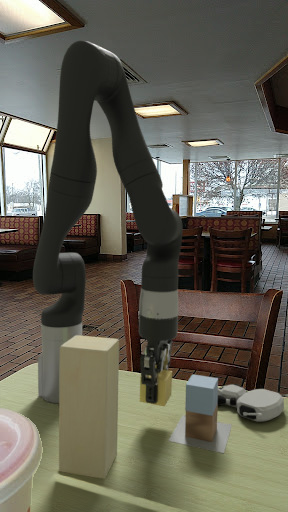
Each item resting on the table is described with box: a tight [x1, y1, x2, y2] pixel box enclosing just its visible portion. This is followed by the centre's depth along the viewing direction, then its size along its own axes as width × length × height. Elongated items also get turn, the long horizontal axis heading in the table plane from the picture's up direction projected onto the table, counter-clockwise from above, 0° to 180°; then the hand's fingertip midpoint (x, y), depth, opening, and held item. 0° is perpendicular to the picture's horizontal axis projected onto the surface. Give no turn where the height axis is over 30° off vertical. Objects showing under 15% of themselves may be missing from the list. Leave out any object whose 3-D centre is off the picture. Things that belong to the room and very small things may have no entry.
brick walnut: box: [185, 404, 219, 442], centre depth 71 cm, size 5×5×5 cm
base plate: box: [167, 414, 233, 454], centre depth 71 cm, size 10×10×1 cm
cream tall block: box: [58, 335, 120, 479], centre depth 62 cm, size 8×7×21 cm
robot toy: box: [217, 383, 288, 423], centre depth 81 cm, size 12×4×15 cm
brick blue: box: [184, 374, 219, 416], centre depth 71 cm, size 5×5×5 cm
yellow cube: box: [139, 369, 173, 407], centre depth 74 cm, size 5×5×5 cm
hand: (155, 395), depth 74 cm, fingers closed on yellow cube, 5 cm apart
